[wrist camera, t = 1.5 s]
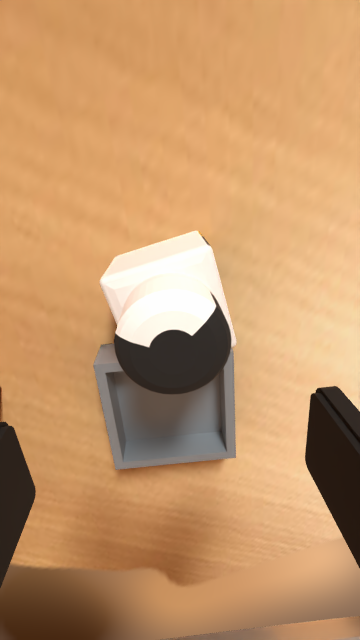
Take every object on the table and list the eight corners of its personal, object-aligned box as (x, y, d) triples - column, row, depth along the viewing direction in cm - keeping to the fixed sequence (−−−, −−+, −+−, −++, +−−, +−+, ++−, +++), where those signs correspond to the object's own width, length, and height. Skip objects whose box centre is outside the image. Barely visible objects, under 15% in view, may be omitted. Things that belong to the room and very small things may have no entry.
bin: (228, 431, 33) (235, 457, 30) (120, 442, 33) (115, 469, 30) (225, 332, 29) (233, 351, 26) (101, 344, 29) (93, 365, 26)
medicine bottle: (221, 309, 28) (258, 390, 17) (143, 333, 29) (130, 426, 18) (199, 228, 26) (226, 262, 15) (113, 256, 26) (76, 309, 15)
